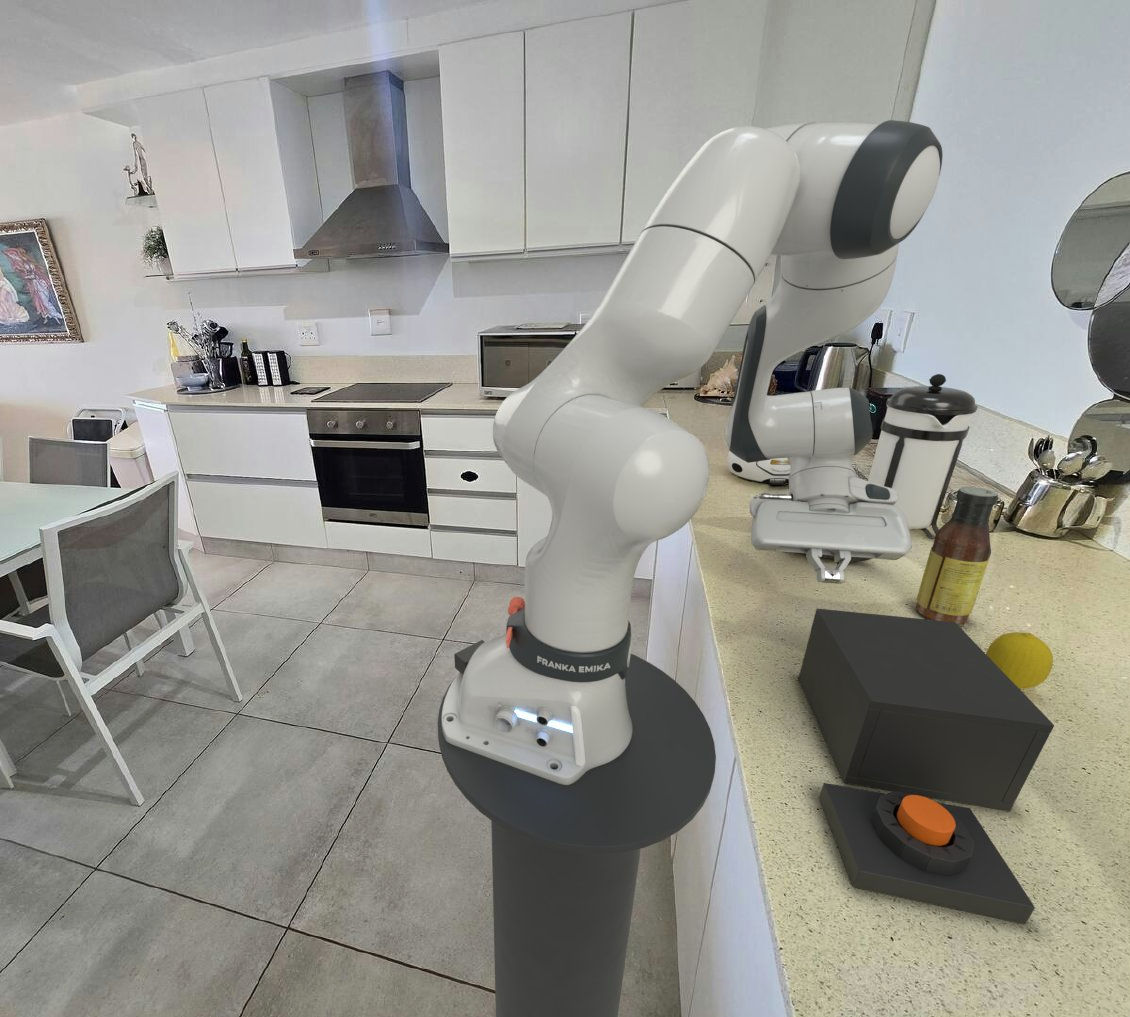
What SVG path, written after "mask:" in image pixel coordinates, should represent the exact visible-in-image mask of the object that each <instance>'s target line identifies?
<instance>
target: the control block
mask: <svg viewBox="0 0 1130 1017" xmlns="http://www.w3.org/2000/svg"><path fill="white" fill-rule="evenodd" d="M908 795H915V794H910V793H904V792H898V791H889V792H888V793H886V792H880V791H874V790H868V789H863V788H862V789H861V788H856V787H851V786H845V785H839V784H833V783H828V782H823V785H822V787H821V790H820V794H819V797H818V799H819V802H820V804H821V807H822V809H823V813H824V815H825V818H826V820H827V823H828V825H829V828H830V830H831V833H832V835H833V838H834V841H835V843H836V846H837V849H838V851H839V854H840V857H841V859H842V862H843V865H844V867H845V870H846V872H847V874H848V877H849V880H850V882H851V885H852V887H853V888H855V889H860V890H863V891H867V892H873V893H876V894H877V893H878V894H883V895H887V896H891V897H895V898H896V897H897V898H901V899H904V900H905V899H906V900H911V901H914V902H919V903H924V904H929V905H933V906H938V907H942V908H947V909H952V910H956V911H961V912H966V913H970V914H976V915H980V916H985V917H990V918H993V919H999V920H1002V921H1007V922H1011V923H1018V924H1022V925H1026V924H1027V922H1028V921H1029V919H1030V917H1031V915H1032V914H1033V912H1034V911H1035V909H1036V906H1035V905H1034V904H1033V901H1032V900H1031V899H1030V897H1029V896H1028V894H1027V892H1026V891H1025V890H1024V888H1023V887H1022V885H1021V883H1020V882H1019V881H1018V879H1017V877H1016V876H1015V875H1014V873H1013V871H1012V869H1010V867H1009V865H1008V864H1007V862H1006V861H1005V859H1004V857H1003V856H1002V855H1001V853H1000V852H999V851H998V848H997V847H996V846H995V844H994V843H993V841H992V839H991V838H990V837H989V835H988V833H987V832H986V830H985V829H984V827H983V826H982V825H981V823H980V821H979V820H978V819H977V817H976V815H975V814H974V812H973V811H972V809H971V807H966V806H960V805H954V804H948V803H943V802H937V803H938V804H940V805H941V806H943V807H944V808H945V809H946V810H947V811H948V812H949V813H950V814H951V815H952V817H953V818H954V820H955V824H956V827H955V829H954V832H953V834H952V836H951V838H950V840H949V842H948V843H947V844H946V845H943V846H934V845H929V844H926V843H924V842H921V841H919V840H917V839H916V838H914V837H913V836H911V835H910V834H909V833H907V832H906V831H905V830H904V829H903V828H902V826H901V825H900V824H899V822H898V819H897V812H898V810H899V807H900V805H901V802H902V800H903V798H904V797H906V796H908Z"/></svg>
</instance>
